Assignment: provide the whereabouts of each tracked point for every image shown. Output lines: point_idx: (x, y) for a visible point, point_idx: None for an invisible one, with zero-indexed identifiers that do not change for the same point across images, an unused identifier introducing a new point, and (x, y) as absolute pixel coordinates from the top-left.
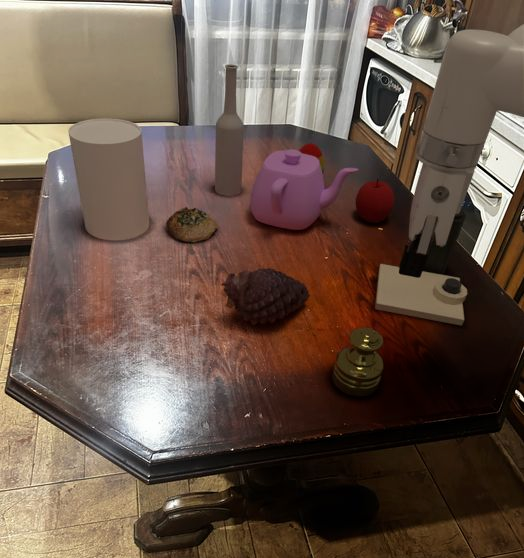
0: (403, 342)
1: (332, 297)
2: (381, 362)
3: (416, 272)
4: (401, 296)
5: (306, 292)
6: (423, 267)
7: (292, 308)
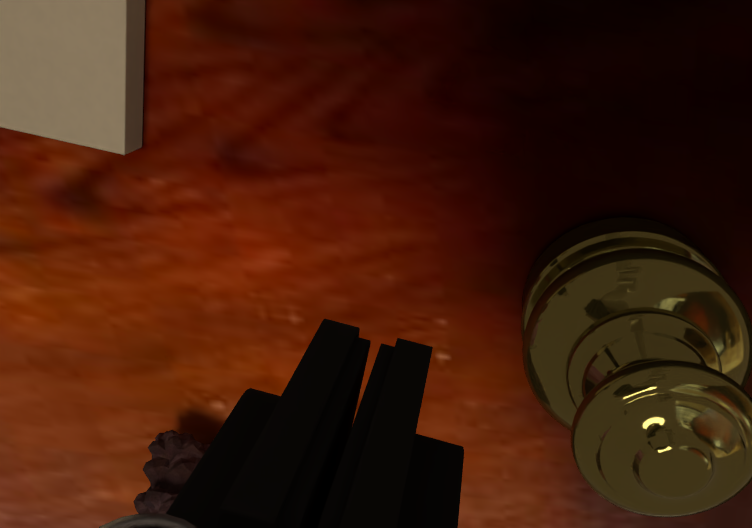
0: (352, 47)
1: (115, 311)
2: (667, 279)
3: (463, 452)
4: (32, 15)
5: (179, 470)
6: (418, 415)
7: None
